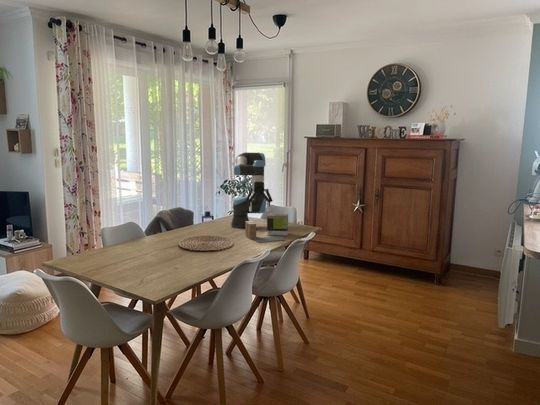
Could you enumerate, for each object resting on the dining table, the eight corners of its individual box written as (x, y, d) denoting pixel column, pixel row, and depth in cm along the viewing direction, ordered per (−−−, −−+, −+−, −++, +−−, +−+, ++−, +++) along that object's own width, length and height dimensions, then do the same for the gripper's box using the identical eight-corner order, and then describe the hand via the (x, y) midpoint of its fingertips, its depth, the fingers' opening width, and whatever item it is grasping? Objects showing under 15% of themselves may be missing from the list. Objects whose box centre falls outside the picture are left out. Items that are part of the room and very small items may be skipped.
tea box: (288, 232, 297) (288, 213, 295) (287, 236, 287) (287, 216, 285) (268, 232, 299) (268, 212, 296) (266, 235, 289) (266, 215, 286)
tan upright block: (245, 236, 285) (245, 221, 284) (252, 235, 287) (252, 220, 285) (249, 239, 277) (249, 223, 275) (256, 238, 279) (256, 223, 277)
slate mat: (253, 239, 277) (253, 238, 277) (279, 237, 284) (279, 236, 284) (258, 242, 267) (258, 242, 267) (285, 240, 275) (285, 239, 275)
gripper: (244, 180, 277) (244, 211, 276) (276, 182, 287) (277, 211, 286) (241, 181, 284) (241, 211, 282) (272, 183, 294) (272, 211, 293)
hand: (259, 211), depth 284 cm, fingers open, 13 cm apart
